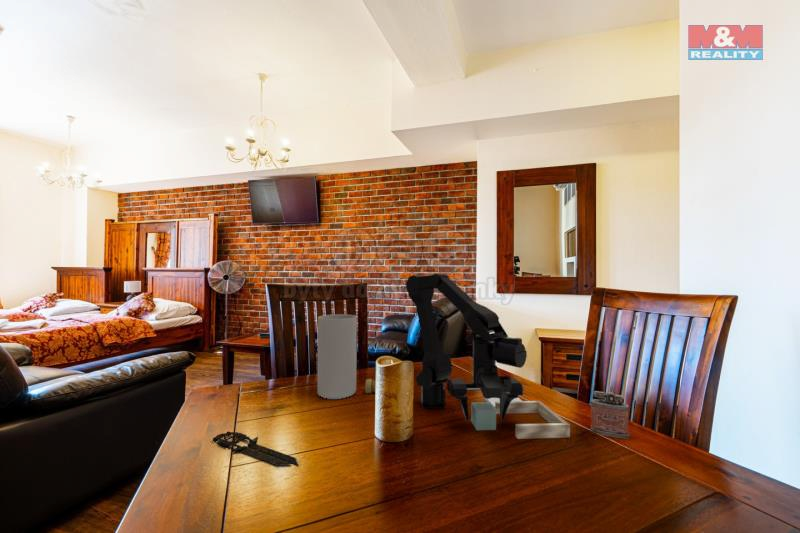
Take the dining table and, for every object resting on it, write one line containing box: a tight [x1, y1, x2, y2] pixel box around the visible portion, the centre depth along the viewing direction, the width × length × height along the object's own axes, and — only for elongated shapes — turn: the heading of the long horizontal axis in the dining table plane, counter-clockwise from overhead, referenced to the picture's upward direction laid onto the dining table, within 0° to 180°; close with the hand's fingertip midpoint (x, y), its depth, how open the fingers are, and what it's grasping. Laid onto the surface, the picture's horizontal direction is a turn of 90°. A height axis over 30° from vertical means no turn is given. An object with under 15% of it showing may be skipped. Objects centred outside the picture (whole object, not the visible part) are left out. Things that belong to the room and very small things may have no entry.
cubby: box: [495, 400, 571, 440], centre depth 86 cm, size 13×15×3 cm
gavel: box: [364, 378, 375, 394], centre depth 117 cm, size 21×5×10 cm
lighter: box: [590, 390, 630, 439], centre depth 81 cm, size 8×3×10 cm, turn 65°
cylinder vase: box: [317, 313, 358, 400], centre depth 108 cm, size 12×12×25 cm
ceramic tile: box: [484, 396, 523, 408], centre depth 99 cm, size 10×8×1 cm
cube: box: [470, 401, 497, 431], centre depth 85 cm, size 5×5×5 cm
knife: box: [212, 431, 299, 467], centre depth 72 cm, size 25×6×1 cm, turn 57°
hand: (484, 419), depth 86 cm, fingers open, 9 cm apart
